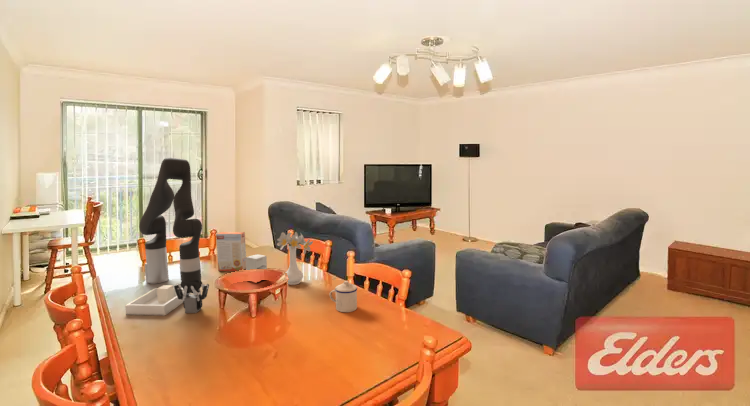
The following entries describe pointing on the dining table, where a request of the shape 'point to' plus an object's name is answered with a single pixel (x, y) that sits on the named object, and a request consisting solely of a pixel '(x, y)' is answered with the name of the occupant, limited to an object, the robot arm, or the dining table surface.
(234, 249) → the cracker box
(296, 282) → the flower vase
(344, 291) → the teacup with lid
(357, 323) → the dining table surface
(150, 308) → the tray
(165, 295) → the cream block
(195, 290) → the robot arm
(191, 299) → the charcoal block
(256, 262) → the supplement box
